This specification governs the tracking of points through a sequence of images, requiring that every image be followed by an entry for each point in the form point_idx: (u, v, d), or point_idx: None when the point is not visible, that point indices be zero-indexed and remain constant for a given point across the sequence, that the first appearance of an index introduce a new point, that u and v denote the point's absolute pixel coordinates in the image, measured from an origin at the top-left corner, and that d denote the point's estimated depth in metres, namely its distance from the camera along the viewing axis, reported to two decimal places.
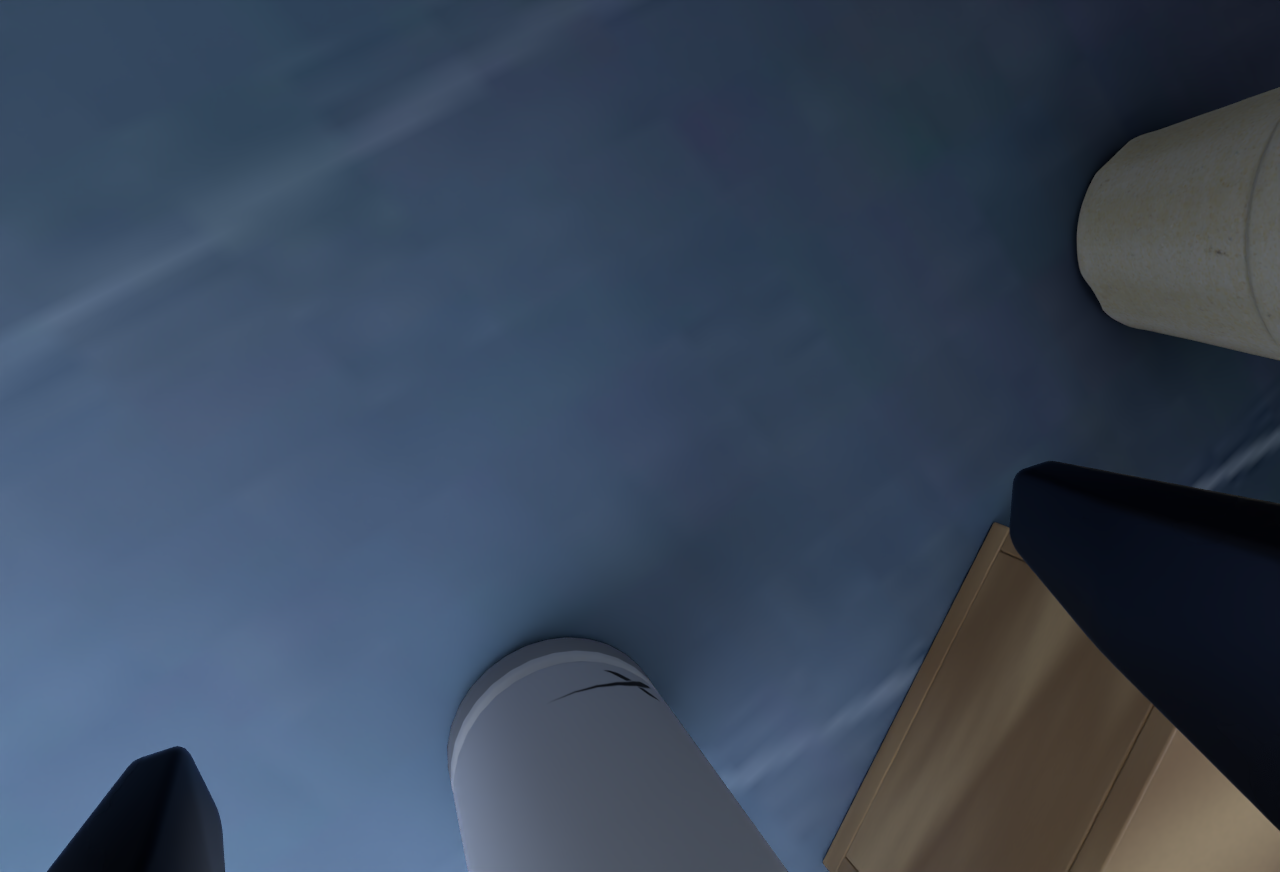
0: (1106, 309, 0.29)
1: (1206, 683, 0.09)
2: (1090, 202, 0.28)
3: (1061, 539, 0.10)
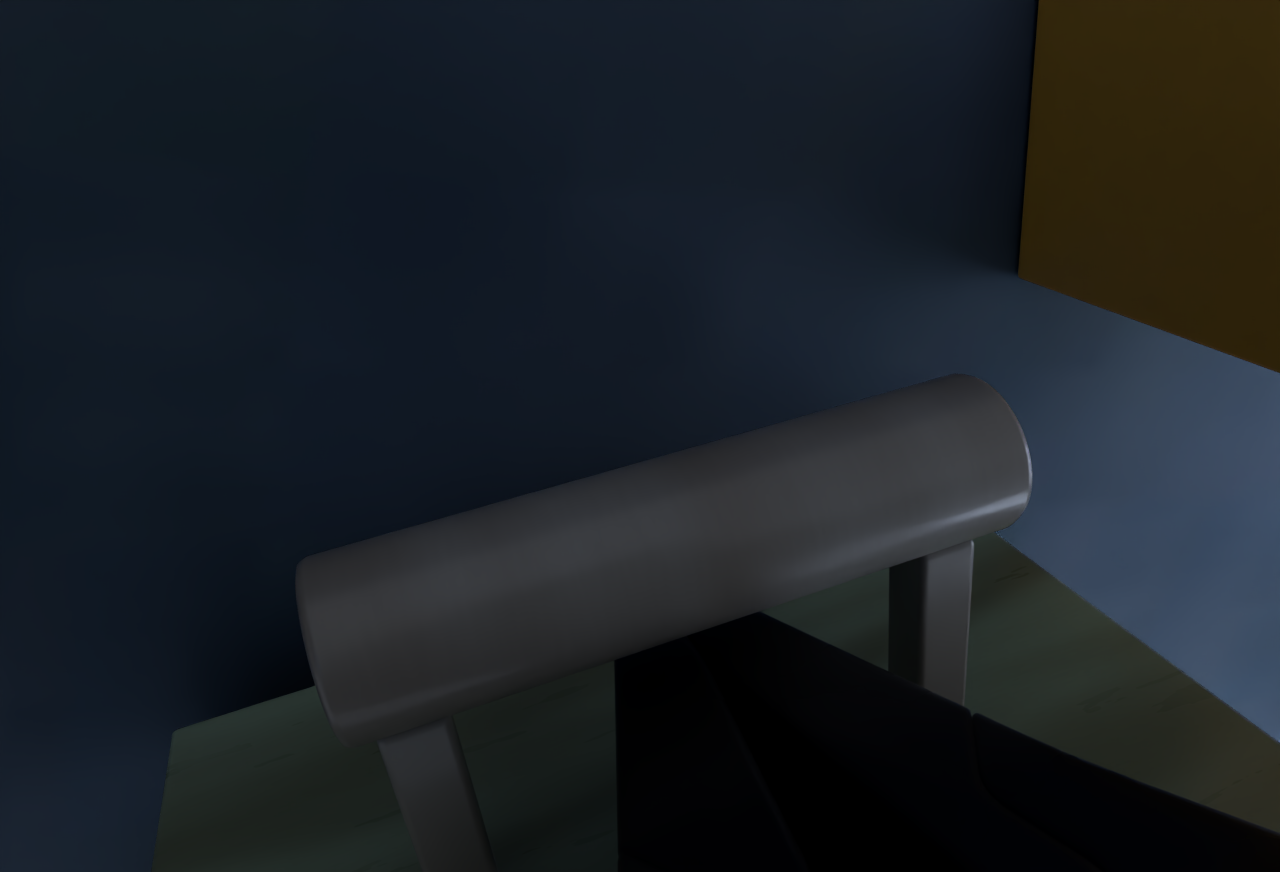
0: None
1: None
2: None
3: None
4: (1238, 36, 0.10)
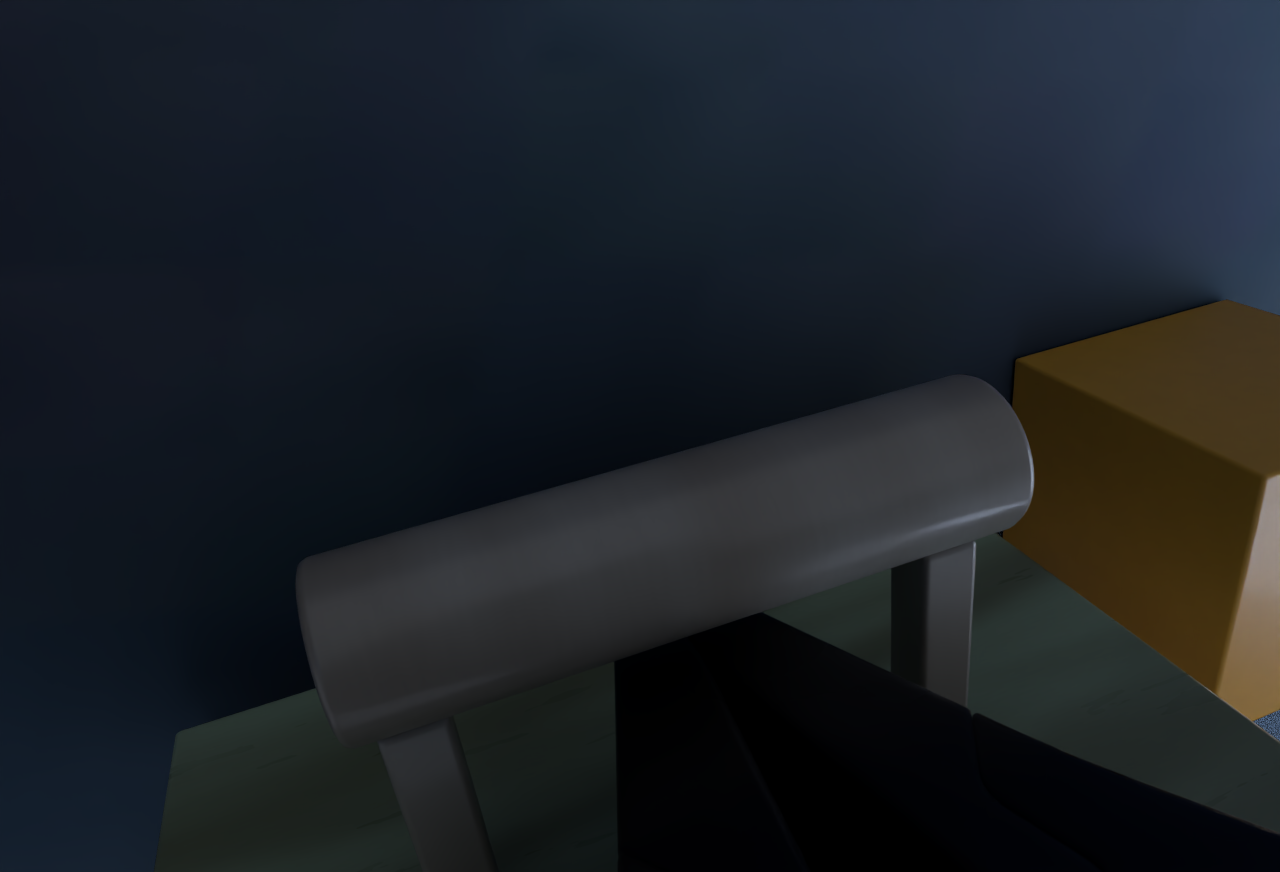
0: None
1: None
2: None
3: None
4: (1166, 491, 0.13)
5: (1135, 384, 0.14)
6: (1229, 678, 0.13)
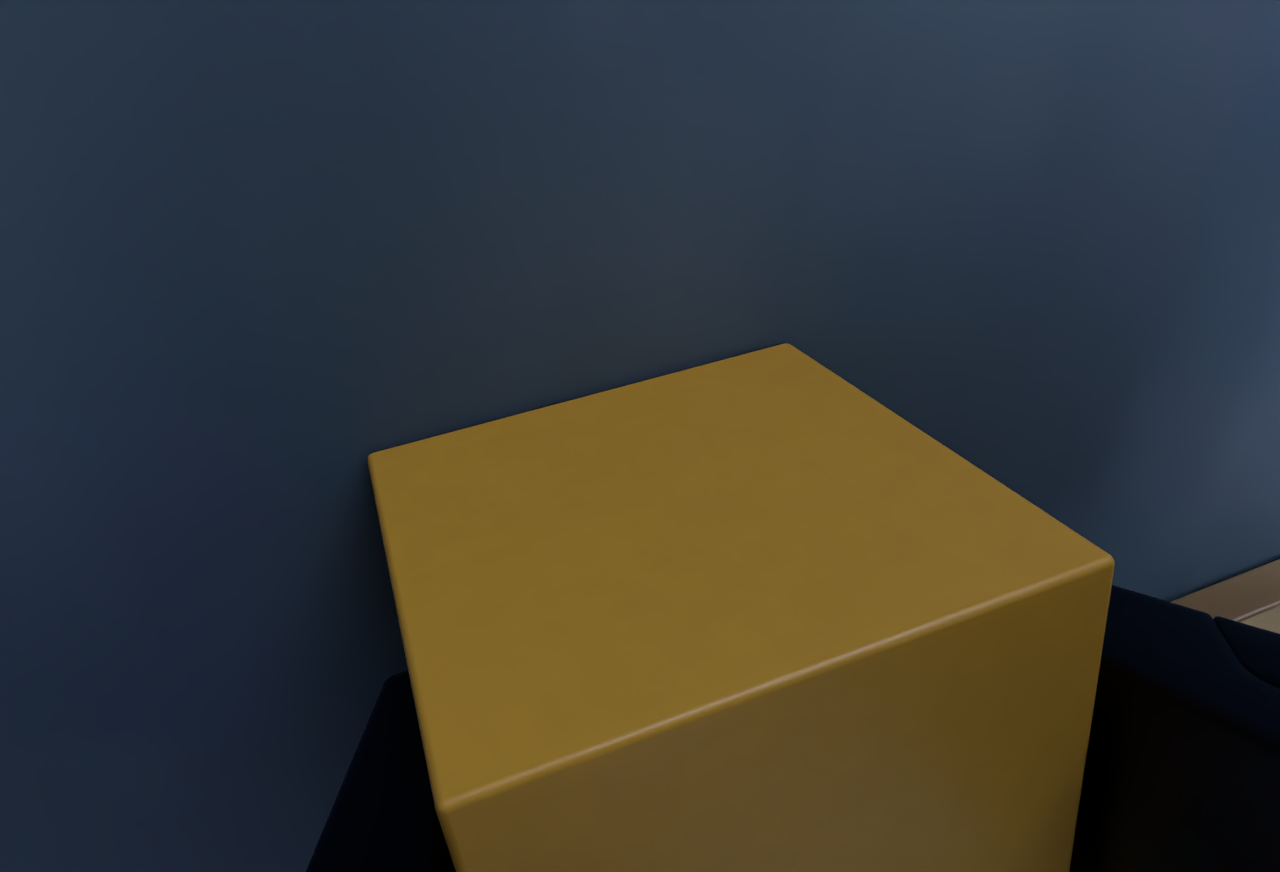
0: None
1: None
2: None
3: None
4: None
5: None
6: None
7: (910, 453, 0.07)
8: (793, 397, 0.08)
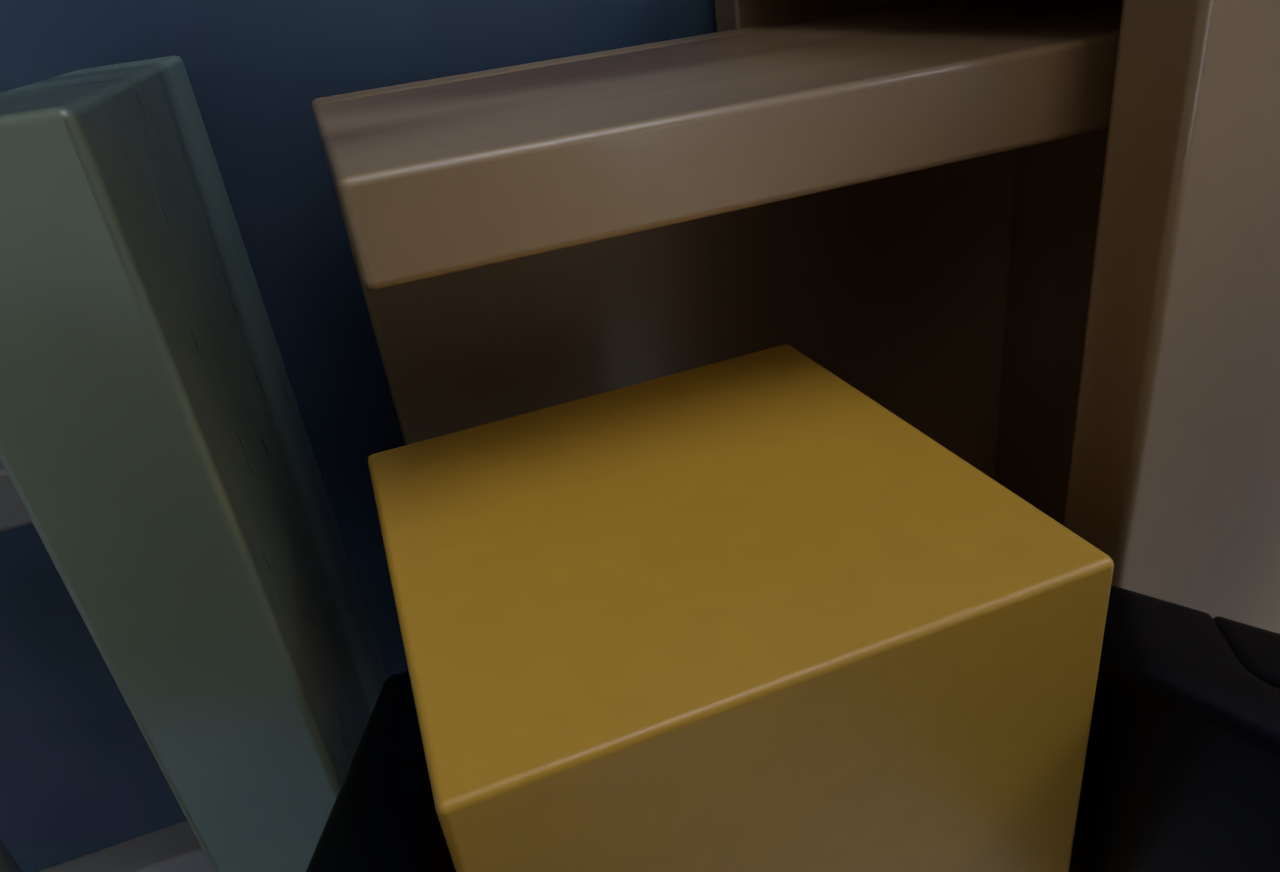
0: None
1: None
2: None
3: None
4: None
5: None
6: None
7: (910, 455, 0.07)
8: (793, 398, 0.08)
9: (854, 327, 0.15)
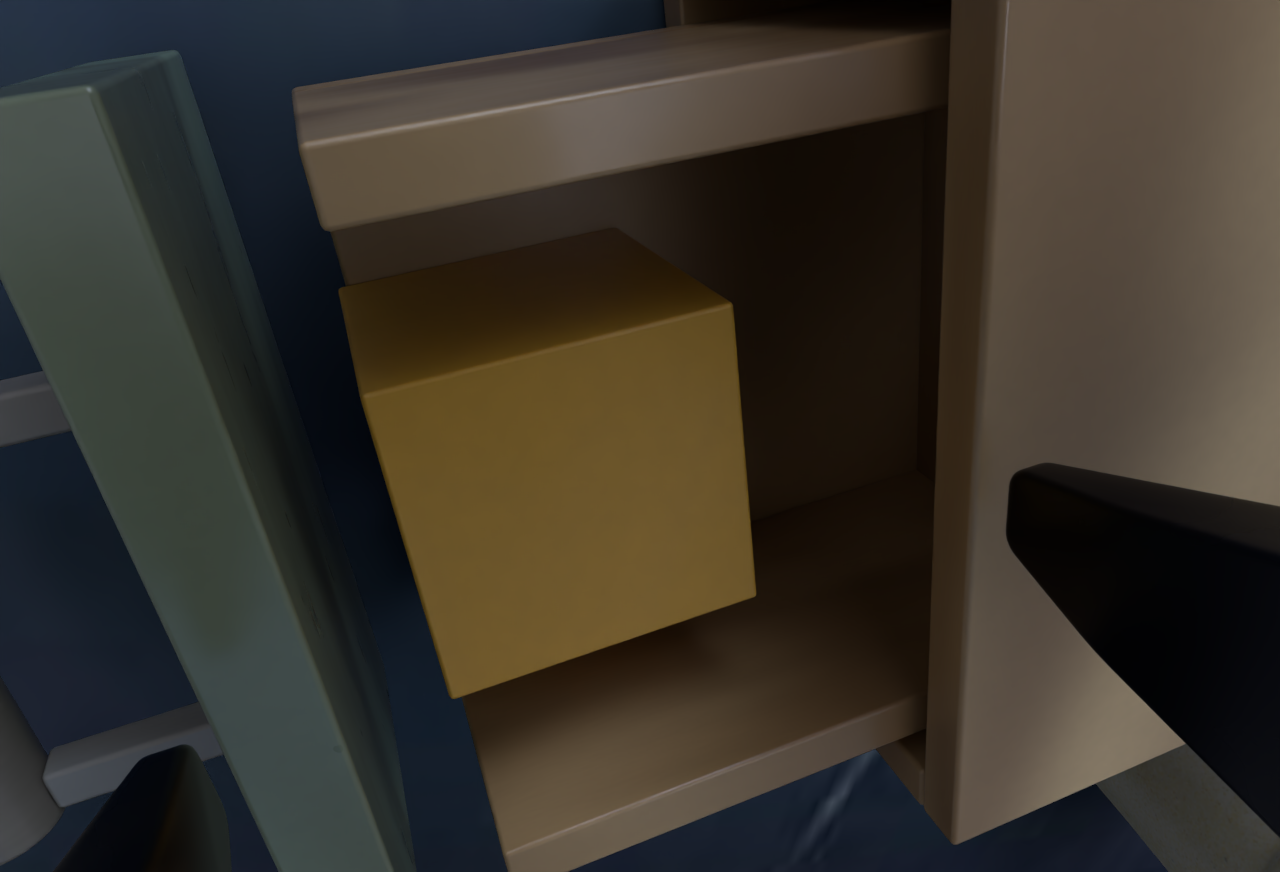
0: None
1: (1201, 685, 0.09)
2: None
3: (1056, 541, 0.10)
4: None
5: None
6: (682, 613, 0.13)
7: (656, 271, 0.12)
8: (604, 251, 0.14)
9: (780, 294, 0.16)
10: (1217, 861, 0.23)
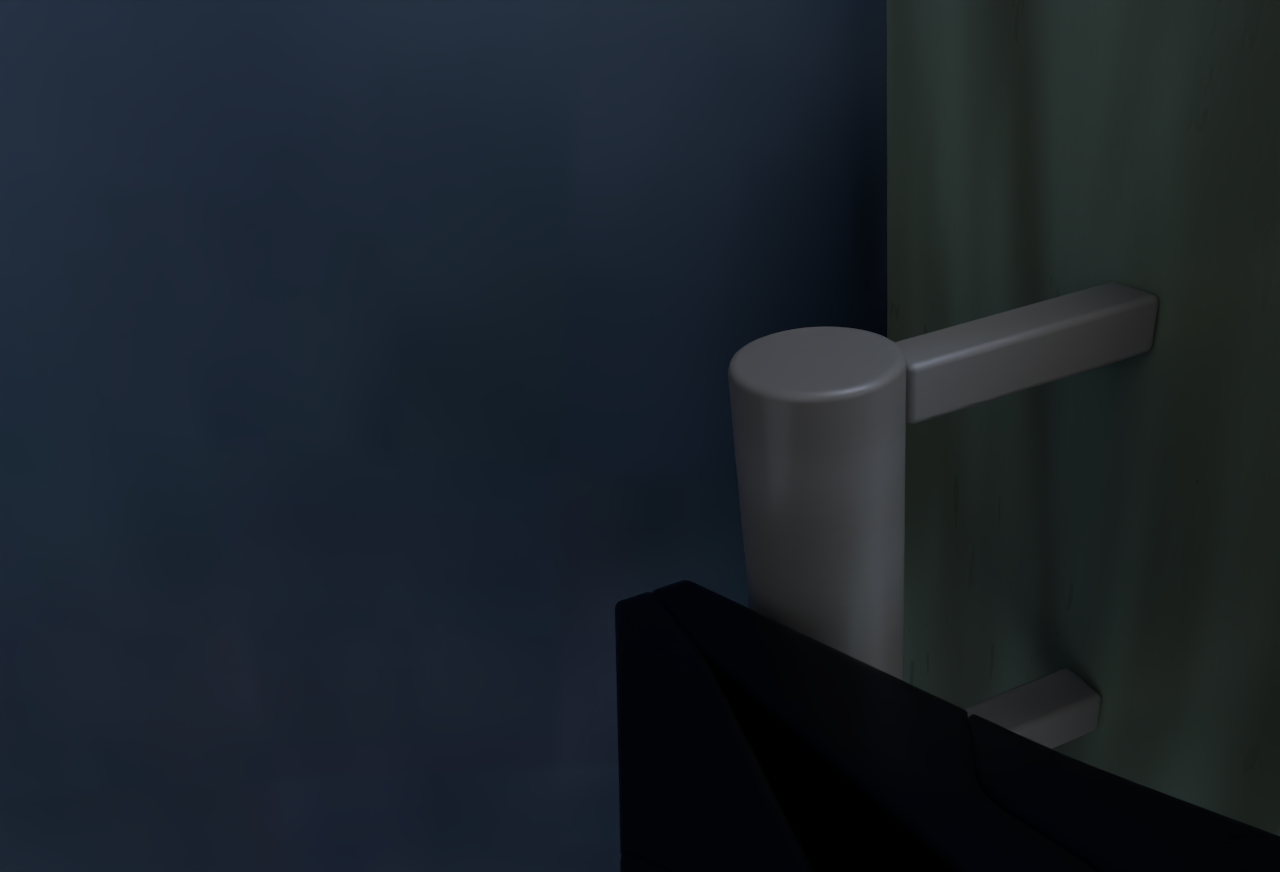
0: None
1: None
2: None
3: None
4: None
5: None
6: None
7: None
8: None
9: None
10: None
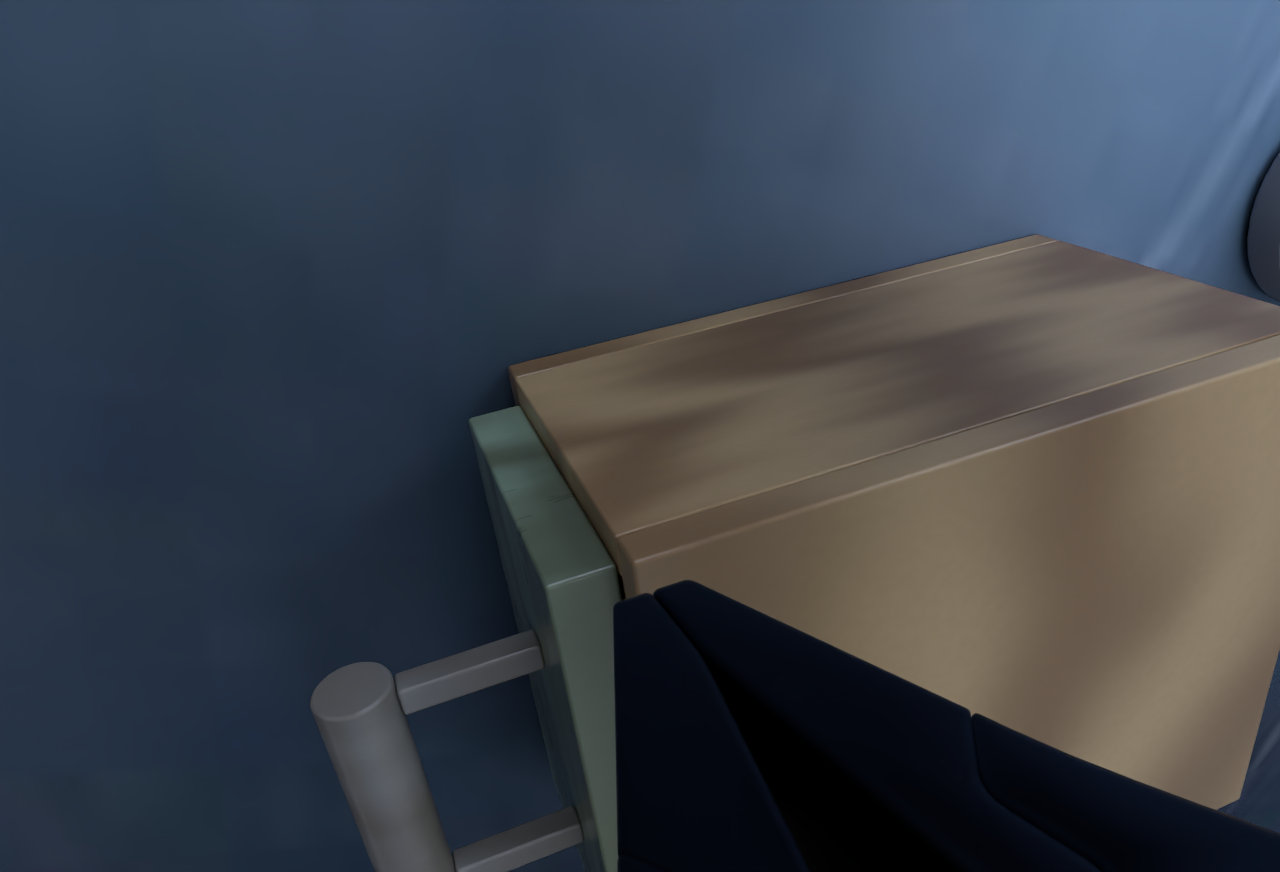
0: None
1: None
2: None
3: None
4: None
5: None
6: None
7: None
8: None
9: None
10: None
